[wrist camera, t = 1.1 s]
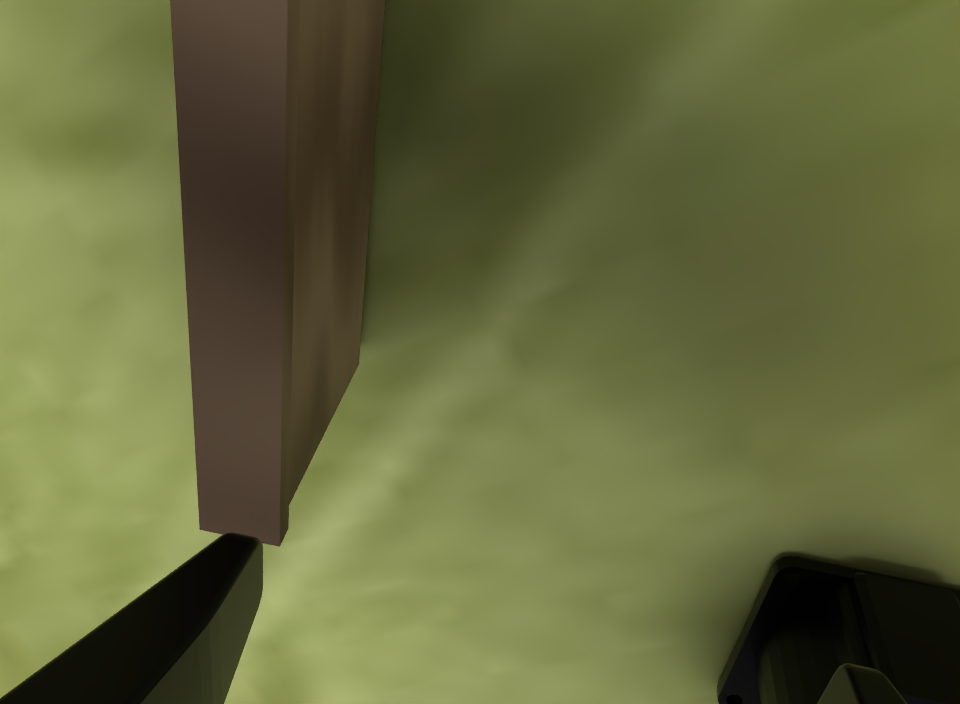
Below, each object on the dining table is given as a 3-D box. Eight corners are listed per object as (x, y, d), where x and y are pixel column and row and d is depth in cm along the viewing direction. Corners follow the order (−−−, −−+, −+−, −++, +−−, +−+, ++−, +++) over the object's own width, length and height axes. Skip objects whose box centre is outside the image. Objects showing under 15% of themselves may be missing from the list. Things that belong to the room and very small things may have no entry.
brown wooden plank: (366, 365, 22) (279, 546, 17) (290, 350, 22) (179, 525, 17) (417, -289, 15) (293, -348, 9) (304, -308, 15) (114, -376, 9)
